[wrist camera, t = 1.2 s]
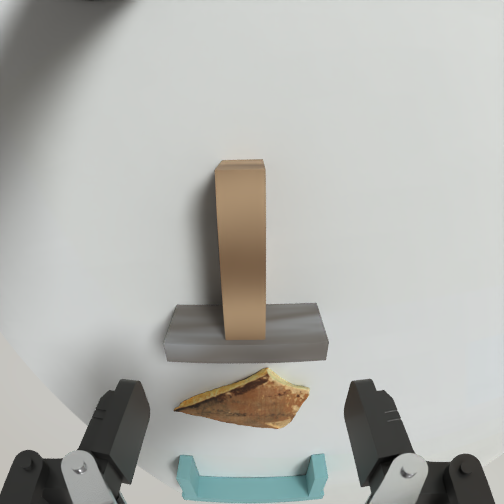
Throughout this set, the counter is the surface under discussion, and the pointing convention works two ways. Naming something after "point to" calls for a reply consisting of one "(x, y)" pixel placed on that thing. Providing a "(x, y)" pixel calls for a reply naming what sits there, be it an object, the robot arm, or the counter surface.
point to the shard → (250, 401)
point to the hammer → (244, 289)
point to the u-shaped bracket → (252, 485)
